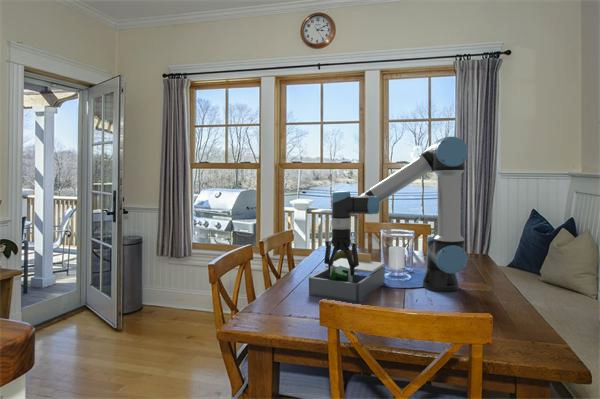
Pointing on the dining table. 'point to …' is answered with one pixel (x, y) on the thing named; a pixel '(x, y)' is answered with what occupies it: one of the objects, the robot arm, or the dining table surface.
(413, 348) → the dining table surface
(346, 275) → the clamp
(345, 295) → the housing
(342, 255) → the fruit
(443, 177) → the robot arm
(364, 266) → the lid
